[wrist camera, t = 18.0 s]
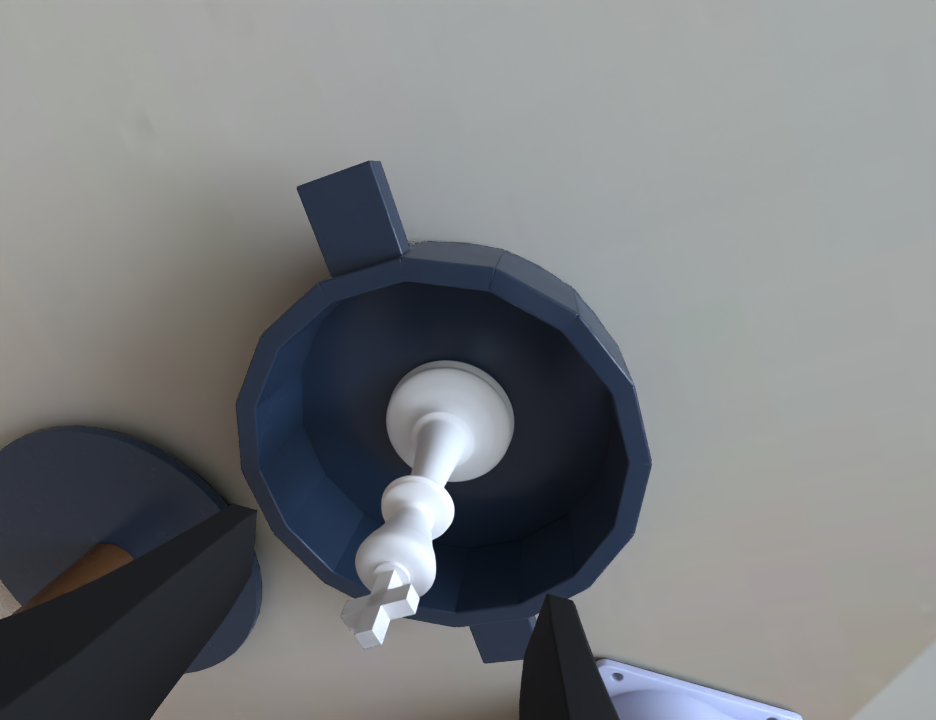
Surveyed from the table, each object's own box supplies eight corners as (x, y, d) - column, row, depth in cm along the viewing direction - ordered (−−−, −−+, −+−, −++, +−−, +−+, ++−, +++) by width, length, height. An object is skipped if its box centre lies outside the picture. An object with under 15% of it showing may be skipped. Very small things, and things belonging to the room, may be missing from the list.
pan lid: (182, 387, 22) (82, 448, 17) (314, 641, 26) (263, 746, 21) (-58, 453, 25) (-199, 519, 20) (93, 668, 29) (6, 765, 25)
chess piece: (534, 452, 20) (524, 702, 11) (422, 488, 21) (327, 738, 12) (482, 340, 19) (418, 513, 9) (367, 386, 20) (210, 577, 11)
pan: (562, 104, 16) (567, 84, 12) (670, 576, 22) (697, 660, 18) (207, 230, 19) (125, 244, 15) (382, 614, 25) (353, 693, 21)
